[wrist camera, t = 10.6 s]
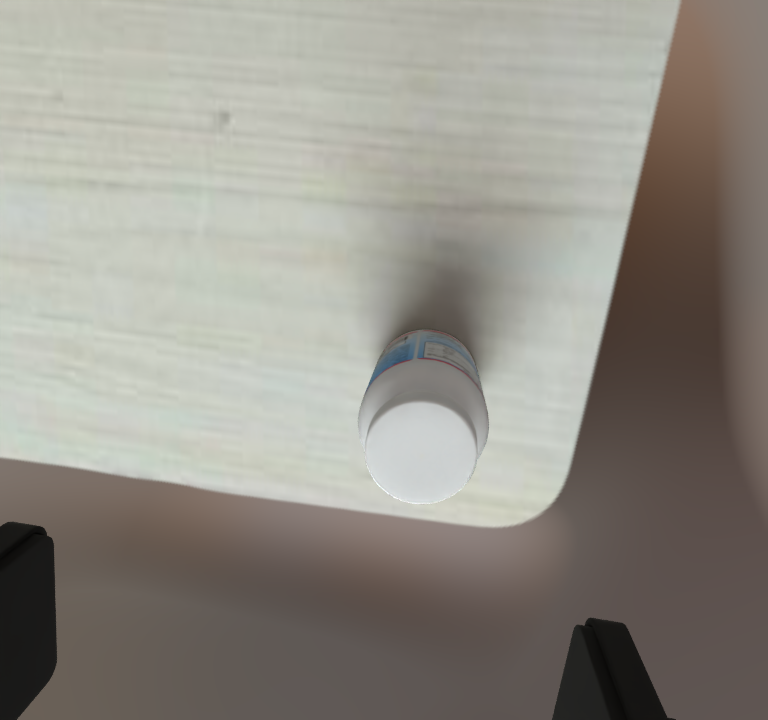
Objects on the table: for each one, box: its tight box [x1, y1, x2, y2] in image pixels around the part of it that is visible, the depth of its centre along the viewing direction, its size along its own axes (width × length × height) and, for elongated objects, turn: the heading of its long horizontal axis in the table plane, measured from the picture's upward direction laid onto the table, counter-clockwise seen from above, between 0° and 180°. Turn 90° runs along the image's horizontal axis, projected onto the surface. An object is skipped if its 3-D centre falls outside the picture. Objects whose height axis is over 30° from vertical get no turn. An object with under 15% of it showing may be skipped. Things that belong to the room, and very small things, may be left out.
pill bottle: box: [358, 329, 489, 504], centre depth 29 cm, size 6×6×11 cm
